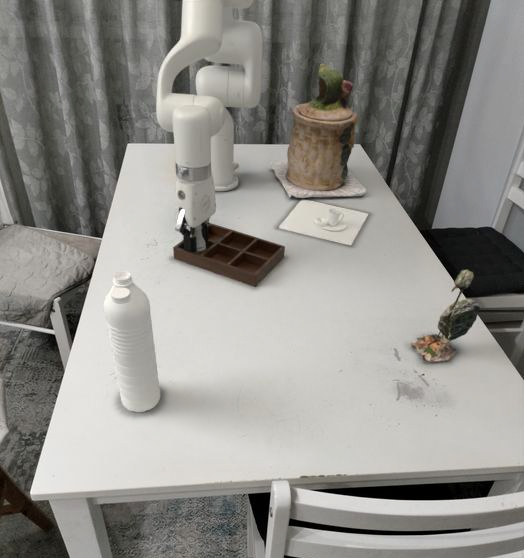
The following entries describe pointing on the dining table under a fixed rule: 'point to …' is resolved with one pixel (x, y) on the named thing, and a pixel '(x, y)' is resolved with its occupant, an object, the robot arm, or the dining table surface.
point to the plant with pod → (450, 324)
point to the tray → (234, 255)
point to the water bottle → (132, 343)
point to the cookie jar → (321, 143)
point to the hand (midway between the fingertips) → (196, 245)
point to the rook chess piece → (199, 239)
